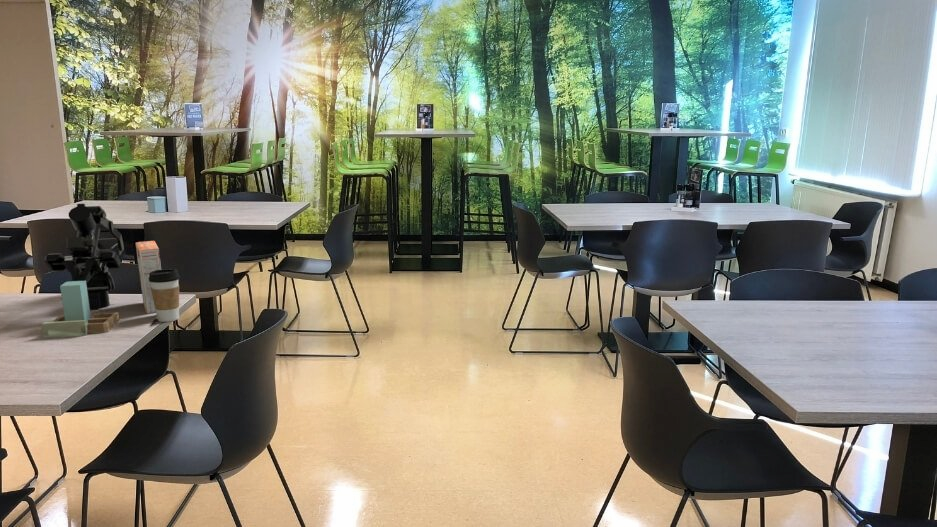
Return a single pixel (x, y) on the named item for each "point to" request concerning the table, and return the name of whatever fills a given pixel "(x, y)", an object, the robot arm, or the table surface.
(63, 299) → the block
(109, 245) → the robot arm
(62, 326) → the trap channel
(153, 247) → the cracker box
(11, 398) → the table surface
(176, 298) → the coffee cup
